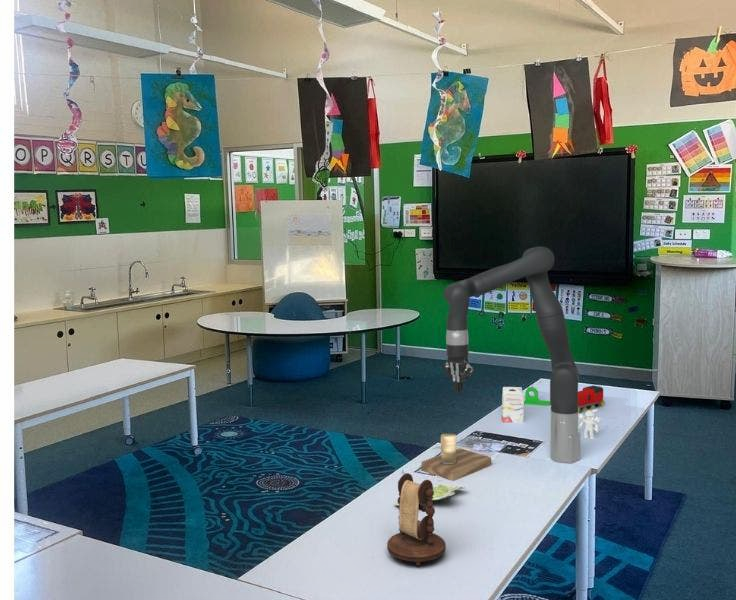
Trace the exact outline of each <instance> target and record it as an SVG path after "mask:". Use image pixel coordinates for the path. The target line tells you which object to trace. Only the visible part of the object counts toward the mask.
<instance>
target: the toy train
mask: <svg viewBox="0 0 736 600" xmlns="http://www.w3.org/2000/svg"><path fill="white" fill-rule="evenodd" d="M605 404H606V403H605V400H604V388H603V387H601V386H598V385H590V386H586V387H585V386H583V387H582V390H578V414H583V412H587V411H588V410H595V409H596V408H603V407H605Z"/></svg>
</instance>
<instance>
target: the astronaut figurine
mask: <svg viewBox="0 0 736 600" xmlns="http://www.w3.org/2000/svg"><path fill="white" fill-rule="evenodd" d="M598 409H599V408H597V409H596V408H595V409H590V410H586V412H585V413H584V414H583V413H578V421H580V424H578V430H580V429H581V428H582V427H583V425H585V427H584V432H583V438H585V439H586V438H589V439H590V440H593V439H595V436H594V431H595V434H598V433H599V424H601V422H602V418H600V417H599V416H595V413H596V412H597V411H598ZM598 423H599V424H598Z"/></svg>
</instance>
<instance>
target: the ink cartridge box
mask: <svg viewBox="0 0 736 600" xmlns="http://www.w3.org/2000/svg"><path fill="white" fill-rule="evenodd" d="M501 395H502V396H501V421H502V423H524V414H525V413H524V410H525V409H524V407H525V406H524V405H525V404H524V401H525V396H524V394H523V388H522V387H521V386H519V387H518V386H517V387H516V386H503V387H502V394H501Z"/></svg>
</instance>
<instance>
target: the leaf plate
mask: <svg viewBox="0 0 736 600" xmlns="http://www.w3.org/2000/svg"><path fill="white" fill-rule="evenodd" d="M459 489H463V490H464V489H466V486H465V485H463V486H461V487H460V486H453V487H452V486H447V485H445V484H444V483H440V484H438V486H433V491H434V495H433V496H432V497H433V499H432V501H439V500H444V499H447V498H449V497H451V496H455V495H456V492H455V491H457V490H459ZM393 505H394V506H398V507H400V506H399V504H398V502H395V503H394V504H393Z"/></svg>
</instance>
